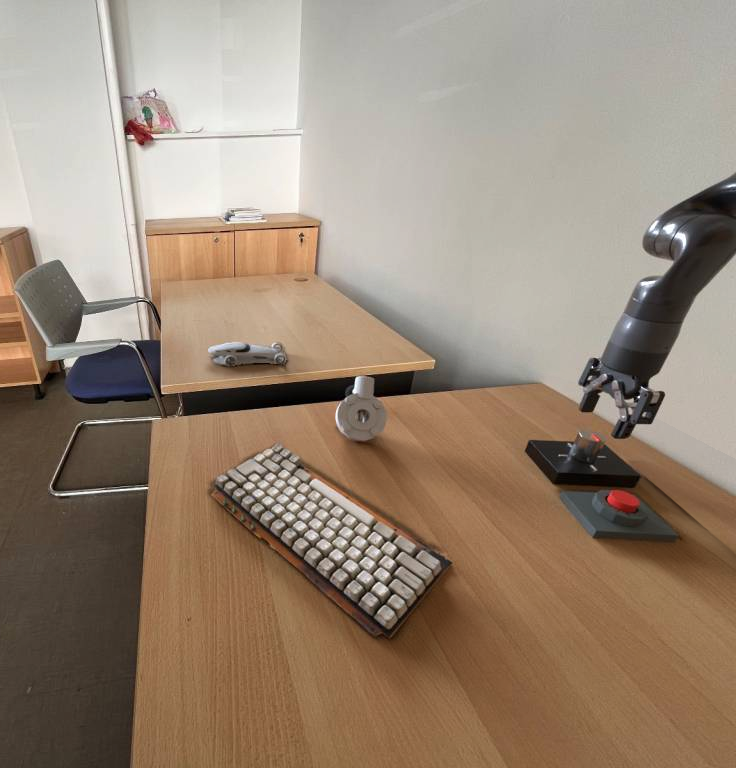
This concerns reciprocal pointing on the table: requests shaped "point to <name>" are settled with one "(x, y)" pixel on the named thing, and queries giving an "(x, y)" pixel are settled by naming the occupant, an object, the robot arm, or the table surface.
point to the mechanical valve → (361, 411)
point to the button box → (616, 518)
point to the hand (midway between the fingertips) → (600, 423)
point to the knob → (587, 446)
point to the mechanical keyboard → (332, 539)
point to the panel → (580, 466)
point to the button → (623, 501)
